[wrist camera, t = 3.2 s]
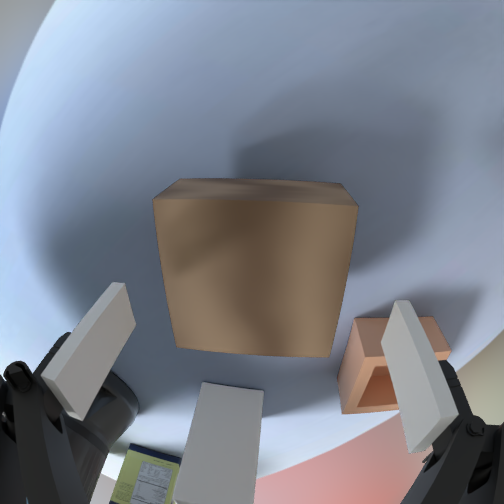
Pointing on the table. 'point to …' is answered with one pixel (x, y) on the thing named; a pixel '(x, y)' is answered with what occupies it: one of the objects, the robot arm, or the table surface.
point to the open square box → (375, 366)
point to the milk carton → (221, 447)
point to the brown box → (255, 263)
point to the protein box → (146, 478)
